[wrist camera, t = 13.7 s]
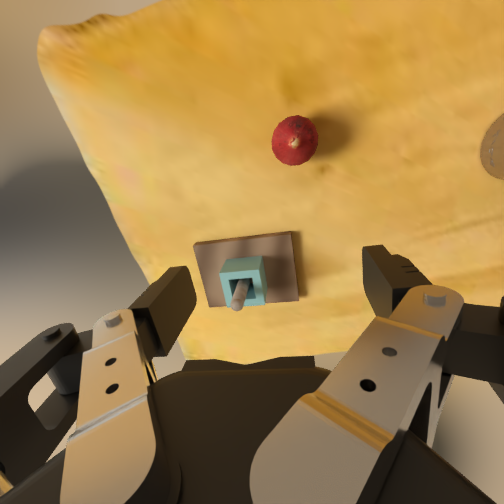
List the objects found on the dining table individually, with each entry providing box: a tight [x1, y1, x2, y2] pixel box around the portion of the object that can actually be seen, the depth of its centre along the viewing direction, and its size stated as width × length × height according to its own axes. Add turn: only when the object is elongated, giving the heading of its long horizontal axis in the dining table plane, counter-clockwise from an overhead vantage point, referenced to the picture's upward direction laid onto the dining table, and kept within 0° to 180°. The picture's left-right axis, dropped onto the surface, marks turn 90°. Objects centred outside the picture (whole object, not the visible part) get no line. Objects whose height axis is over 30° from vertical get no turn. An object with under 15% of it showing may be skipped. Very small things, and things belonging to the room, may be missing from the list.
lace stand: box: [193, 231, 299, 311], centre depth 41 cm, size 16×12×11 cm
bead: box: [219, 256, 268, 307], centre depth 42 cm, size 6×6×5 cm
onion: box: [272, 115, 318, 166], centre depth 34 cm, size 6×6×8 cm
